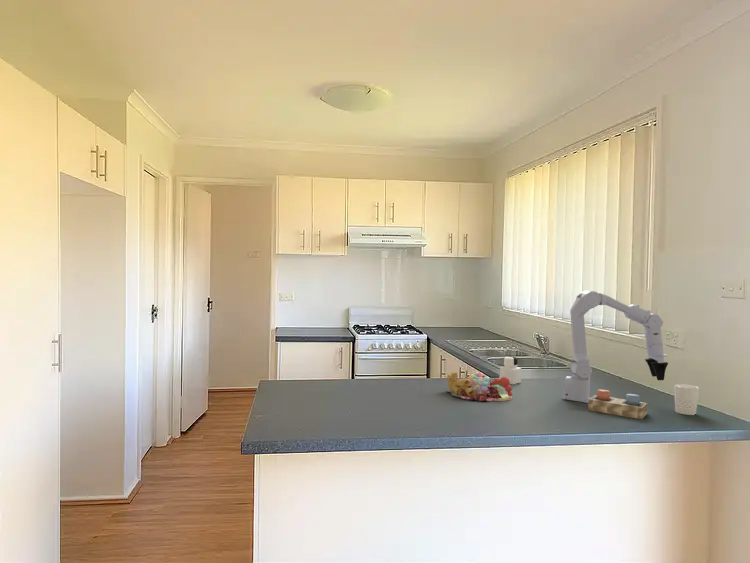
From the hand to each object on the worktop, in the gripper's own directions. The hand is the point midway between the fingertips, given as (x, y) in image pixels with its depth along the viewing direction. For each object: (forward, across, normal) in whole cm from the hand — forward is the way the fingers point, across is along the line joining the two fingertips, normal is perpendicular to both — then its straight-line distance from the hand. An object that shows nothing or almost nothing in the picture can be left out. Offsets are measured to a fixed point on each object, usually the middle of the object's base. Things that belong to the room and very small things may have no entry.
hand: (657, 378), depth 205 cm
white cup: (+12, -10, -6) cm, 16 cm away
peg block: (+8, -19, +19) cm, 28 cm away
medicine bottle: (+3, +20, +57) cm, 61 cm away
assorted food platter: (+1, -11, +70) cm, 71 cm away
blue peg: (+5, -21, +14) cm, 26 cm away
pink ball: (+4, -17, +23) cm, 29 cm away
